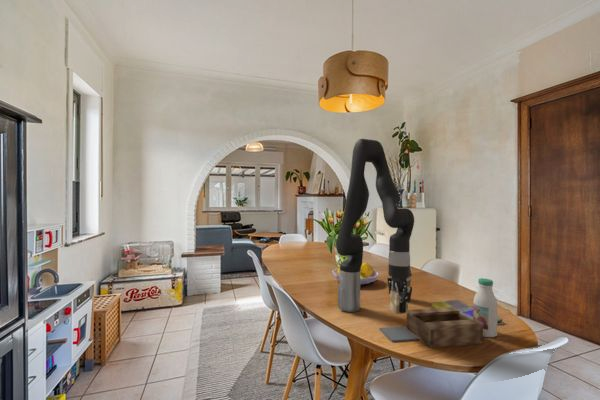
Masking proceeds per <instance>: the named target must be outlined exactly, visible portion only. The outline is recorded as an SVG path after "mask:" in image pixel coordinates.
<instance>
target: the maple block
mask: <svg viewBox="0 0 600 400" xmlns="http://www.w3.org/2000/svg"><path fill="white" fill-rule="evenodd" d="M400 293H403V292H400ZM389 295H390V296H389V297H390V301H389V302H390V303H389V304H390V307H389V309H390V311H392V312H393V313H394V314H395V315H405V314H406V315H407V314H408V310H409V302H406V312H405V313H400V312H399V296H398V294H397V291H390V294H389ZM402 296H403V295H402Z"/></svg>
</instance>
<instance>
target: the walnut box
mask: <svg viewBox="0 0 600 400" xmlns="http://www.w3.org/2000/svg"><path fill="white" fill-rule="evenodd" d="M406 329H408V330H409V331H410V332H411V333H412V334H414V335H415V336H416V337H417V338H418V340H421V342H423V343H424V344H425V345H427V347H429V348H430V349H431V348H442V347H443V348H444V347H454V346H466V345H478V344H483V343H484V341H483V340H484V336H483V323H482V322H480V321H478V320H476V319H469V318H467V317H466V316H464V315H462V314H460V311H459V310H458V309H456V308H454V307H451V308H421V309H420V308H419V309H418V308H417V309H416V308H415V309H408V314H406Z"/></svg>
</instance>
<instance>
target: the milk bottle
mask: <svg viewBox="0 0 600 400" xmlns="http://www.w3.org/2000/svg"><path fill="white" fill-rule="evenodd" d="M493 284H494V281H493V280H492V279H489V278H483V277H481V278H478V289H477V291H476V293H475V295H474V297H473V303H472V304H473V305H472V306H473V319H476V320H478V321H480V322H482V323H483V338H484V337H486V338H495V337H496V336H497V335H498V325H497V317H498V300H497V298H496V295H495V294H494V292H493V287H494V285H493Z"/></svg>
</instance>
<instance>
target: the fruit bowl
mask: <svg viewBox="0 0 600 400" xmlns="http://www.w3.org/2000/svg"><path fill="white" fill-rule="evenodd" d="M331 271H332V274H333V276H334V278H335V279H336V280H339V281H340V266H339V267H337V268H334V269H333V270H331ZM379 275H380V274H379V273H378V272H377V271H375V270H374V267H373V265H371V264H370V263H369V262H362V266H361V275H360V286H362V285H367V284H370V283H372V282H375V281H376V280H377V279H378V276H379Z"/></svg>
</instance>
